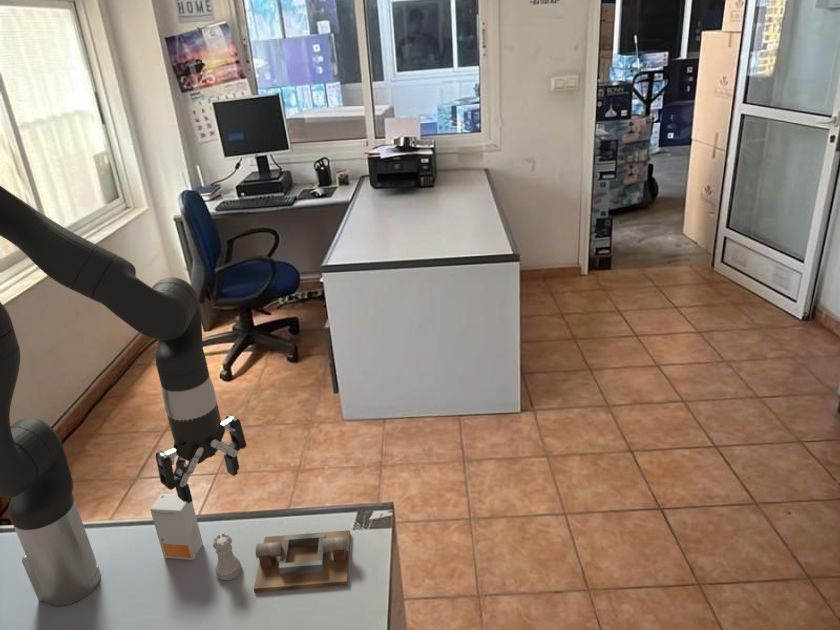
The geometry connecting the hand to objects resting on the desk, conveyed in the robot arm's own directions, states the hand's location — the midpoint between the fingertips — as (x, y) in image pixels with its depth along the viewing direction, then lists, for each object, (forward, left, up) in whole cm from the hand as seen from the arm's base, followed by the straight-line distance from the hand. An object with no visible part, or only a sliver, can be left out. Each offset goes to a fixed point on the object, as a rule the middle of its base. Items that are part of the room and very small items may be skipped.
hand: (210, 486), depth 107 cm
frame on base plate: (+13, +1, -20) cm, 23 cm away
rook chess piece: (0, 0, -20) cm, 20 cm away
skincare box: (-10, +6, -20) cm, 23 cm away
